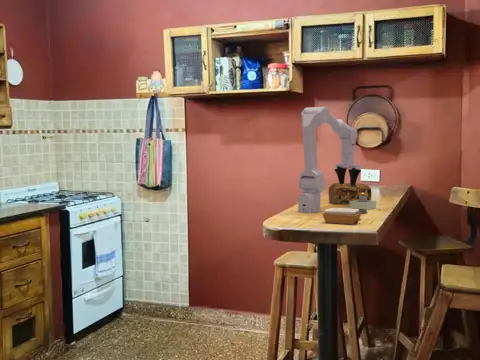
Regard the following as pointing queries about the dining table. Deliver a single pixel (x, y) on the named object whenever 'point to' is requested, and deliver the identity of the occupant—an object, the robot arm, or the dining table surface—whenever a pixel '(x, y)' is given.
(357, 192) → the bread
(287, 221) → the dining table surface
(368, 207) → the bin
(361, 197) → the jar with copper lid
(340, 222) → the soap dish
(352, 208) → the mount
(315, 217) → the dining table surface
